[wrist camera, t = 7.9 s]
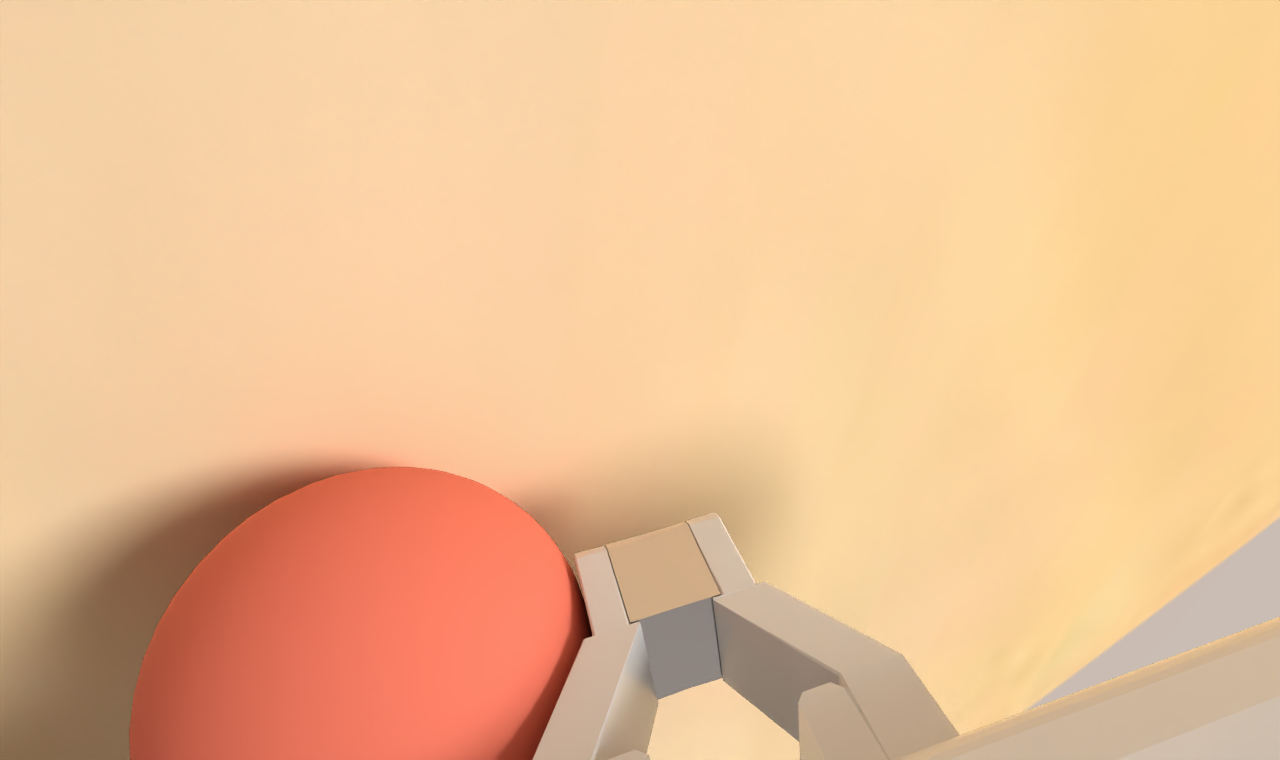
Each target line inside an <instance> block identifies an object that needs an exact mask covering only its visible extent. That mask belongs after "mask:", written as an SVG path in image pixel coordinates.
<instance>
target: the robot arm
mask: <svg viewBox="0 0 1280 760" xmlns="http://www.w3.org/2000/svg"><path fill="white" fill-rule="evenodd" d="M575 563H576V567H577V572H578V576H579V580H580V584H581V588H582V592H583V597H584V601H585V605H586V609H587V613H588V617H589V622H590V626H591V630H592V634H593V636H592V637H589V638H586V639H584V640H583V642H582V644H581V647H580V649H579V651H578V654H577V656H576V659H575V661H574V663H573V666H572V668H571V670H570V673H569V675H568V677H567V680H566V682H565V684H564V687H563V689H562V691H561V694H560V696H559V699H558V701H557V703H556V706H555V708H554V710H553V713H552V715H551V717H550V720H549V722H548V724H547V727H546V729H545V731H544V734H543V736H542V739H541V741H540V743H539V746H538V748H537V750H536V753H535V755H534V757H533V760H650V757H649V755H647V754H646V753H647V749H648V745H649V741H650V736H651V732H652V728H653V724H654V719H655V715H656V711H657V707H658V699H661V698H664V697H666V696H669V695H672V694H674V693H677V692H680V691H683V690H685V689H688V688H691V687H694V686H698V685H701V684H704V683H707V682H711V681H714V680H717V679H720V678H723V681H724V682H726V683H727V684H728V685H729V686H731V687H732V688H733V689H734V690H736V691H737V692H738V693H739V694H741V695H742V696H743V697H744V698H745V699H747V700H748V701H749V702H750V703H752V704H753V705H754V706H755V707H757V708H758V709H759V710H760V711H762V712H763V713H764V714H765V715H767V716H768V717H769V718H770V719H772V720H773V721H774V722H775V723H777V724H778V725H779V726H780V727H781V728H783V729H784V730H785V731H786V732H788V733H789V734H790V735H791V736H793V737H794V738H795V739H796V740H798V741H799V744H800V760H1280V617H1278V618H1276V619H1273V620H1270V621H1267V622H1265V623H1262V624H1259V625H1257V626H1254V627H1251V628H1249V629H1246V630H1243V631H1240V632H1238V633H1235V634H1232V635H1230V636H1227V637H1224V638H1221V639H1219V640H1216V641H1213V642H1211V643H1208V644H1205V645H1203V646H1200V647H1197V648H1194V649H1192V650H1189V651H1186V652H1184V653H1181V654H1178V655H1176V656H1173V657H1170V658H1167V659H1165V660H1162V661H1160V662H1157V663H1154V664H1151V665H1149V666H1146V667H1143V668H1141V669H1138V670H1135V671H1133V672H1130V673H1127V674H1124V675H1122V676H1119V677H1116V678H1113V679H1111V680H1108V681H1106V682H1103V683H1100V684H1097V685H1095V686H1092V687H1089V688H1086V689H1084V690H1081V691H1078V692H1076V693H1073V694H1070V695H1068V696H1065V697H1062V698H1060V699H1057V700H1054V701H1051V702H1049V703H1046V704H1043V705H1040V706H1038V707H1035V708H1032V709H1030V710H1027V711H1024V712H1022V713H1019V714H1016V715H1013V716H1011V717H1008V718H1005V719H1003V720H1000V721H997V722H995V723H992V724H989V725H986V726H984V727H981V728H978V729H976V730H973V731H970V732H967V733H965V734H962V735H959V734H958V732H957V731H956V729H955V728H954V726H953V725H952V724H951V722H950V721H949V719H948V718H947V717H946V715H945V714H944V712H943V711H942V710H941V708H940V707H939V705H938V704H937V702H936V701H935V700H934V698H933V697H932V695H931V694H930V693H929V691H928V690H927V688H926V687H925V686H924V684H923V683H922V681H921V680H920V678H919V677H918V676H917V674H916V673H915V671H914V670H913V669H912V667H911V666H910V664H909V663H908V662H907V660H906V659H905V657H904V656H903V655H902V654H900V653H898V652H896V651H894V650H892V649H891V648H889V647H887V646H885V645H883V644H881V643H879V642H877V641H876V640H874V639H872V638H870V637H868V636H866V635H864V634H862V633H861V632H859V631H857V630H855V629H853V628H851V627H849V626H848V625H846V624H844V623H842V622H840V621H838V620H836V619H834V618H833V617H831V616H829V615H827V614H825V613H823V612H821V611H819V610H818V609H816V608H814V607H812V606H810V605H808V604H806V603H804V602H803V601H801V600H799V599H797V598H795V597H793V596H791V595H790V594H788V593H786V592H784V591H782V590H780V589H778V588H776V587H775V586H773V585H771V584H769V583H767V582H762V583H759V584H756V582H755V581H754V579H753V577H752V575H751V573H750V571H749V570H748V568H747V566H746V564H745V562H744V561H743V559H742V557H741V555H740V553H739V551H738V550H737V548H736V546H735V544H734V542H733V540H732V539H731V537H730V535H729V533H728V531H727V530H726V528H725V526H724V524H723V522H722V520H721V519H720V517H719V515H717V514H716V513H715V512H713V513H710V514H706V515H703V516H700V517H697V518H694V519H690V520H687V521H686V522H681V523H678V524H675V525H671V526H668V527H665V528H662V529H658V530H655V531H652V532H649V533H645V534H642V535H639V536H635V537H631V538H628V539H624V540H620V541H616V542H613V543H609V544H606V547H605V546H601V547H597V548H593V549H590V550H586V551H582V552H578V553H575Z"/></svg>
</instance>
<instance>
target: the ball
mask: <svg viewBox="0 0 1280 760" xmlns="http://www.w3.org/2000/svg"><path fill="white" fill-rule="evenodd" d="M589 637H592V631H591V626H590V622H589V617H588V613H587V609H586V605H585V601H584V599H583V596H582V593H581V590H580V588H579V585H578V582H577V580H576V577H575V575H574V573H573V571H572V569H571V567H570V565H569V564H568V562H567V560H566V559H565V557H564V556H563V554H562V553H561V551H560V550H559V548H558V547H557V545H556V544H555V543H554V541H553V540H552V539H551V537H550V536H549V535H548V534H547V532H546V531H545V530H544V529H543V528H542V527H541V526H540V525H539V524H538V523H537V522H536V521H535V520H534V519H533V518H532V517H531V516H530V515H529V514H528V513H527V512H525V511H524V510H523V509H522V508H520V507H519V506H518V505H516V504H515V503H514V502H512V501H511V500H509V499H508V498H506V497H504V496H503V495H501V494H499V493H498V492H496V491H494V490H492V489H490V488H488V487H487V486H485V485H482V484H480V483H478V482H476V481H473V480H470V479H467V478H464V477H461V476H457V475H454V474H450V473H447V472H443V471H438V470H432V469H423V468H414V467H384V468H372V469H366V470H360V471H355V472H349V473H344V474H339V475H336V476H332V477H329V478H326V479H323V480H320V481H317V482H314V483H311V484H309V485H307V486H305V487H303V488H300V489H298V490H296V491H294V492H292V493H290V494H288V495H286V496H284V497H281V498H279V499H277V500H275V501H274V502H272V503H271V504H269V505H267V506H266V507H264V508H263V509H261V510H259V511H258V512H256V513H255V514H253V515H252V516H250V517H249V518H247V519H246V520H245V521H244V522H242V523H241V524H240V525H239V526H238V527H236V528H235V529H234V530H233V531H231V532H230V533H229V534H228V535H227V536H225V537H224V538H223V539H222V540H221V541H220V542H219V543H218V544H217V545H216V546H215V547H214V548H213V550H212V551H211V552H210V553H209V554H208V555H207V556H206V557H205V558H204V559H203V560H202V561H201V562H200V563H199V564H198V565H197V566H196V568H195V569H194V570H193V571H192V573H191V574H190V575H189V577H188V578H187V579H186V581H185V582H184V583H183V585H182V586H181V587H180V589H179V590H178V591H177V593H176V594H175V595H174V597H173V599H172V601H171V602H170V604H169V606H168V608H167V609H166V611H165V613H164V614H163V616H162V618H161V620H160V621H159V623H158V625H157V627H156V630H155V632H154V634H153V637H152V639H151V641H150V644H149V646H148V649H147V651H146V653H145V656H144V658H143V662H142V666H141V669H140V673H139V677H138V680H137V684H136V688H135V691H134V698H133V705H132V713H131V721H130V729H129V740H130V760H533V757H534V755H535V753H536V750H537V748H538V746H539V743H540V741H541V739H542V736H543V734H544V731H545V729H546V727H547V724H548V722H549V720H550V717H551V715H552V713H553V710H554V708H555V706H556V703H557V701H558V699H559V696H560V694H561V691H562V689H563V687H564V684H565V682H566V680H567V677H568V675H569V673H570V670H571V668H572V666H573V663H574V661H575V659H576V656H577V654H578V651H579V649H580V647H581V644H582V642H583V640H584V639H586V638H589Z"/></svg>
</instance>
